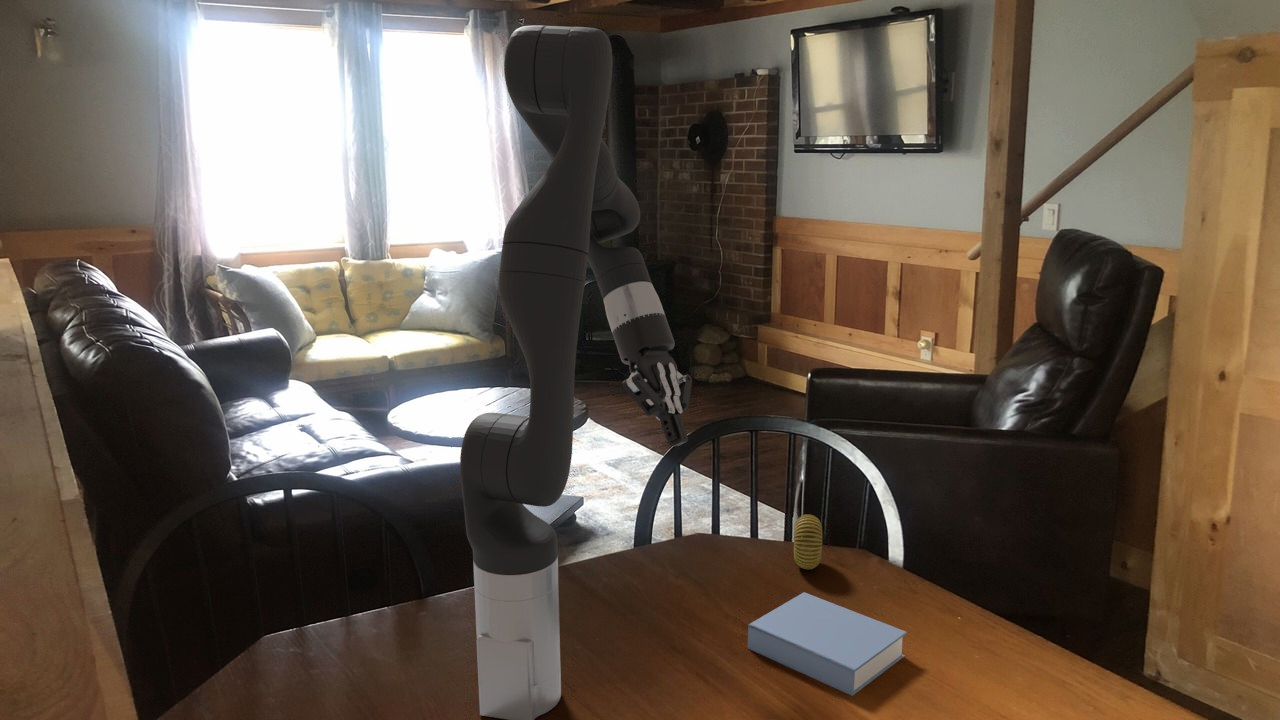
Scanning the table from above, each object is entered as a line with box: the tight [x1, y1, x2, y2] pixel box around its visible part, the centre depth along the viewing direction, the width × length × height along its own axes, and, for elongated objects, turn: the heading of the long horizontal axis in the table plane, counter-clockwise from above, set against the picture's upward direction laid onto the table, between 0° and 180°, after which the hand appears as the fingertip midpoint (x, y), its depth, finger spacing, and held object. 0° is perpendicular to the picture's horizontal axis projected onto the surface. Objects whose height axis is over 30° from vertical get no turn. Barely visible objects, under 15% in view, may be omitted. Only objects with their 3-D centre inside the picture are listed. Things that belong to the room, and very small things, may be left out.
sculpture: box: [793, 513, 823, 570], centre depth 141 cm, size 8×4×8 cm, turn 171°
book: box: [747, 591, 908, 697], centre depth 118 cm, size 4×12×15 cm
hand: (679, 443), depth 124 cm, fingers closed
